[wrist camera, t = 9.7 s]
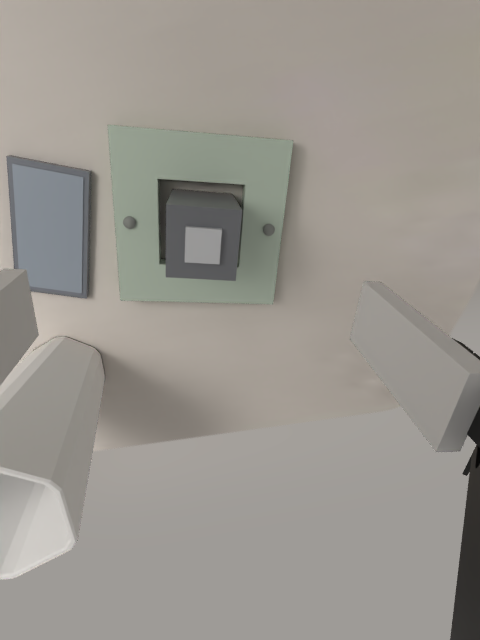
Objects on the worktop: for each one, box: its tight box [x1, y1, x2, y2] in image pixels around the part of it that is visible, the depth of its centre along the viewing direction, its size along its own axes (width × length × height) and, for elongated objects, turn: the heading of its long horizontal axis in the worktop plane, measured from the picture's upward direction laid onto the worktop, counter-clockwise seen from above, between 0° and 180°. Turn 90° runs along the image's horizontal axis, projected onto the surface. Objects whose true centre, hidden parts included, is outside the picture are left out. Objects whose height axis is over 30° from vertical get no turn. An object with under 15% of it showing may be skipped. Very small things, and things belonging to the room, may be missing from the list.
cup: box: [0, 337, 105, 580], centre depth 30 cm, size 11×10×17 cm
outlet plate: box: [108, 125, 293, 304], centre depth 32 cm, size 14×14×2 cm
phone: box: [7, 155, 91, 299], centre depth 31 cm, size 11×6×1 cm, turn 169°
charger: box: [166, 189, 242, 281], centre depth 29 cm, size 5×5×8 cm
